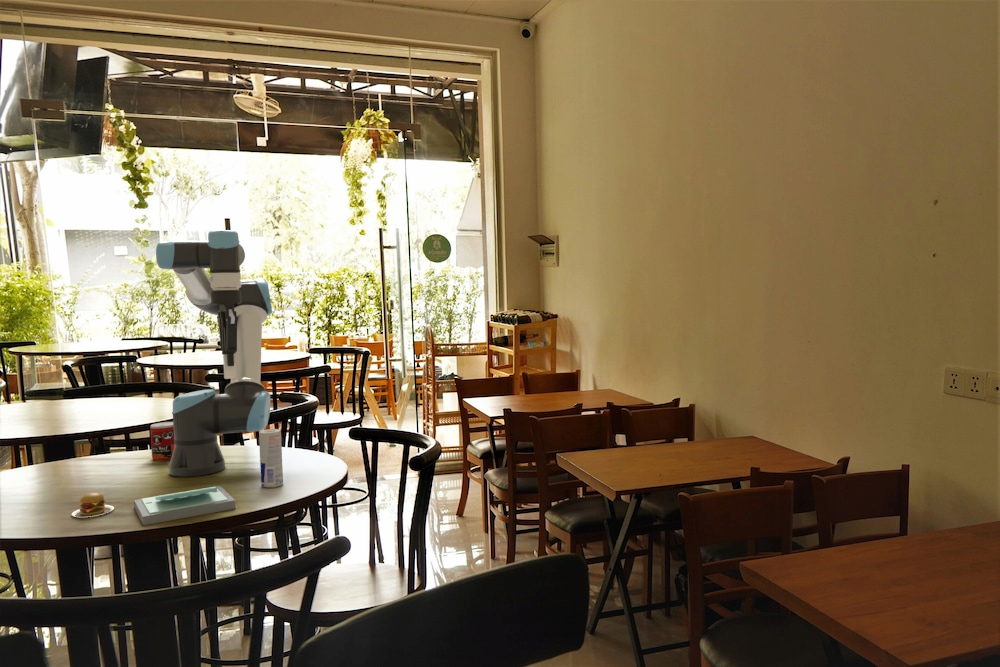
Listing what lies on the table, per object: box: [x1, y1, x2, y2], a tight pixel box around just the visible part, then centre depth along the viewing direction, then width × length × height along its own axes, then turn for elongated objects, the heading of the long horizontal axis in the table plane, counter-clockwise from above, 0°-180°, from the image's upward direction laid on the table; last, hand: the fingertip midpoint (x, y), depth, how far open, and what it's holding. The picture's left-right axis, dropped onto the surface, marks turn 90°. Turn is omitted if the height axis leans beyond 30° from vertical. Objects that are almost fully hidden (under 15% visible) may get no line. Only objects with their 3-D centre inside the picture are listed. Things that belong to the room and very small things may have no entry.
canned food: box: [150, 421, 174, 462], centre depth 225 cm, size 8×8×11 cm
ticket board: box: [133, 485, 237, 526], centre depth 171 cm, size 16×20×2 cm
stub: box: [154, 487, 217, 501], centre depth 169 cm, size 1×12×10 cm
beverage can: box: [258, 428, 284, 489], centre depth 189 cm, size 6×6×15 cm
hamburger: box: [70, 491, 115, 519], centre depth 169 cm, size 12×12×6 cm
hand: (230, 378), depth 188 cm, fingers closed
